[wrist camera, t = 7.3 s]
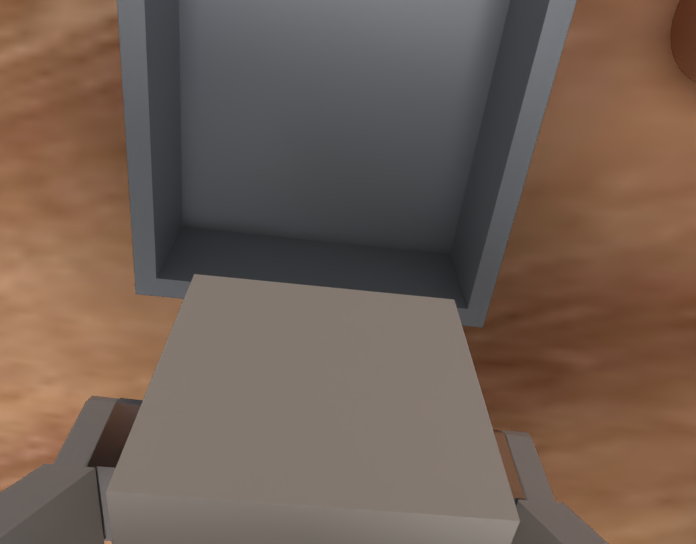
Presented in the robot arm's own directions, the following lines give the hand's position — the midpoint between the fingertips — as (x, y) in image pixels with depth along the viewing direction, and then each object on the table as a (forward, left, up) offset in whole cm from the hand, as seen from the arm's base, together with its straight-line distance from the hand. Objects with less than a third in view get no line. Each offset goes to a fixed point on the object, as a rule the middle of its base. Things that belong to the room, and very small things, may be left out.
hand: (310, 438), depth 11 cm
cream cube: (0, 0, -2) cm, 2 cm away
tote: (+4, 0, -16) cm, 17 cm away
